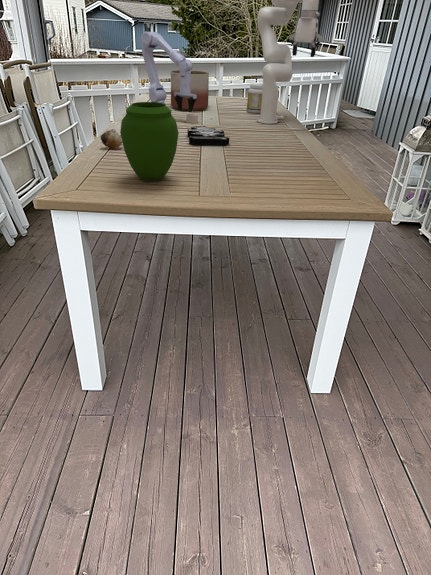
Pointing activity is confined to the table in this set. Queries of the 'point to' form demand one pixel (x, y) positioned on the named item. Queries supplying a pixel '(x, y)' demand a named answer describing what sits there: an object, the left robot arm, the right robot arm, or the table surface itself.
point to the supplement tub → (254, 98)
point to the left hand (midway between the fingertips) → (185, 111)
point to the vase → (149, 139)
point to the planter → (191, 90)
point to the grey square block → (191, 118)
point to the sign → (207, 136)
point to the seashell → (111, 139)
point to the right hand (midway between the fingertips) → (303, 56)
